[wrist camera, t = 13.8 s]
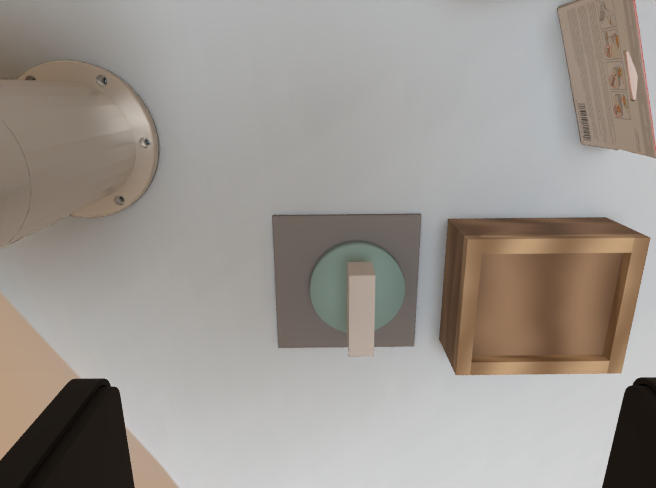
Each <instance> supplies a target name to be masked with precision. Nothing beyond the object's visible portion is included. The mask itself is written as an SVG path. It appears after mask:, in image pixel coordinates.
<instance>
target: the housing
mask: <svg viewBox="0 0 656 488" xmlns="http://www.w3.org/2000/svg"><path fill="white" fill-rule="evenodd" d="M649 242H650V237H648V236H645V235H643V234H641V233H639V232H637V231H634V230H632V229H630V228H628V227H626V226H624V225H621V224H619V223H617V222H615V221H613V220H610V219H608V218H503V219H448V229H447V243H446V256H445V270H444V284H443V297H442V311H441V324H440V338H439V340H440V342H441V344H442V346H443V348H444V350H445V353H446V355H447V357H448V359H449V361H450V363H451V366H452V368H453V370H454V372H455V374H456V375H508V374H598V373H621V372H622V368H623V363H624V358H625V354H626V349H627V344H628V340H629V335H630V330H631V326H632V321H633V316H634V312H635V307H636V302H637V298H638V293H639V288H640V284H641V279H642V274H643V270H644V265H645V260H646V256H647V251H648V246H649Z"/></svg>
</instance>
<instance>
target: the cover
mask: <svg viewBox="0 0 656 488" xmlns="http://www.w3.org/2000/svg"><path fill="white" fill-rule="evenodd" d="M310 296H311V301H312V304H313V307H314V309H315V311H316V313H317V314H318V315H319V317H320V318H321V319H322V320H323V321H324V322H325V323H327V324H328V325H329V326H331V327H333V328H334V329H337V330H339V331H342V332H346V333H347V340H348V350H349V356H374V330H376V329H379V328H381V327H382V326H384V325H386V324H387V323H388V322H389V321H391V320H392V319H393V318H394V317H395V315H396V314H397V313H398V311H399V309H400V308H401V305H402V303H403V300H404V296H405V283H404V278H403V275H402V272H401V270H400V267H399V265H398V263H397V262H396V260H395V259H394V257H393V256H392V255H391V254H390V253H389V252H388V251H387V250H385V249H384V248H382V247H381V246H379V245H377V244H374V243H371V242H367V241H348V242H344V243H341V244H338V245H336V246H334V247H332V248H331V249H329V250H328V251H326V252H325V253H324V254H323V255H322V256H321V257H320V258H319V260H318V261H317V263H316V265H315V267H314V269H313V272H312V276H311V284H310Z"/></svg>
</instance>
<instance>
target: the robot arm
mask: <svg viewBox="0 0 656 488" xmlns="http://www.w3.org/2000/svg"><path fill="white" fill-rule="evenodd" d="M105 78H106V79H107V84H105V83H104V79H105ZM35 79H36V80H35ZM146 139H149V141H150V144H147V143H146ZM158 154H159V149H158V137H157V133H156V129H155V125H154V122H153V120H152V118H151V116H150V113H149V111H148V109H147V107H146V106H145V105H144V103H143V102H142V100H141V99H140V97H139V96H138V95H137V94H136V92H135V91H134V90H133V89H132V88H131V87H130V86H129V85H128V84H127V83H125V82H124V81H123V80H121V79H120V78H119V77H117V76H116V75H115V74H113V73H111V72H109V71H107V70H105V69H103V68H101V67H99V66H95V65H92V64H89V63H85V62H78V61H71V60H70V61H52V62H47V63H43V64H40V65H37V66H35V67H33V68H31V69H29V70H27V71H26V72H25V73H23V74H22V75H21V76H20V77H18V78H17V79H16V80H5V79H0V249H1V248H3V247H5V246H7V245H9V244H11V243H13V242H15V241H17V240H19V239H21V238H24V237H26V236H28V235H30V234H32V233H34V232H36V231H38V230H40V229H42V228H44V227H46V226H48V225H50V224H52V223H54V222H56V221H58V220H60V219H62V218H64V217H66V216H68V215H71V216H75V217H85V218H95V217H104V216H107V215H111V214H114V213H117V212H119V211H121V210H123V209H125V208H126V207H128V206H129V205H131V204H132V203H134V202H135V201H137V200H138V199H139V198H140V196H141V195H142V194H143V193H144V192H145V191H146V190H147V188H148V186H149V185H150V183H151V181H152V180H153V177H154V174H155V171H156V168H157V162H158ZM121 196H122V197H123V198H124V200H125V201H123V200H122V199H121ZM0 488H135V487H134V482H133V474H132V469H131V462H130V455H129V449H128V442H127V436H126V429H125V423H124V417H123V410H122V404H121V397H120V392H119V390H118V388H117V387H111V386H110V383H109V381H108V380H107V379H72V380H71V381H70V382H68V383H67V384H66V386H65V387H64V388H63V389H62V390H61V391H60V392H59V394H58V395H57V396H56V397H55V398H54V399H53V400H52V402H51V403H50V404H49V405H48V406H47V407H46V409H45V410H44V411H43V412H42V413H41V414H40V416H39V417H38V418H37V419H36V420H35V421H34V422H33V424H32V425H31V426H30V427H29V428H28V429H27V430H26V432H25V433H24V434H23V435H22V436H21V437H20V439H19V440H18V441H17V442H16V443H15V445H14V446H13V447H12V448H11V449H10V450H9V451H8V452H7V454H6V455H5V456H4V457H3V458H2V459H1V460H0ZM602 488H656V378H638V379H636V380H635V382H634V383H633V385H632V386H629V387H628V388H627V389H626V390H625V393H624V397H623V401H622V406H621V410H620V414H619V418H618V423H617V427H616V431H615V435H614V440H613V444H612V448H611V452H610V457H609V461H608V465H607V469H606V473H605V478H604V482H603V486H602Z"/></svg>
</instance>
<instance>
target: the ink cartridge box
mask: <svg viewBox="0 0 656 488" xmlns="http://www.w3.org/2000/svg"><path fill="white" fill-rule="evenodd" d="M558 15H559V20H560V25H561V31H562V36H563V42H564V48H565V53H566V59H567V64H568V70H569V76H570V81H571V87H572V92H573V98H574V103H575V109H576V115H577V120H578V126H579V132H580V137H581V143H582V144H584V145H590V146H596V147H602V148H607V149H613V150H619V149H621V150H625V151H629V152H632V153H637V154H641V155H646V156H649V157H653V158H656V146H655V139H654V131H653V123H652V116H651V109H650V101H649V95H648V88H647V82H646V74H645V67H644V60H643V53H642V46H641V39H640V31H639V25H638V18H637V12H636V5H635V0H576V1H573V2H570V3H567V4H564V5H562V6H560V7H558ZM636 72H637V73H636ZM637 75H638V80H637Z"/></svg>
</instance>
